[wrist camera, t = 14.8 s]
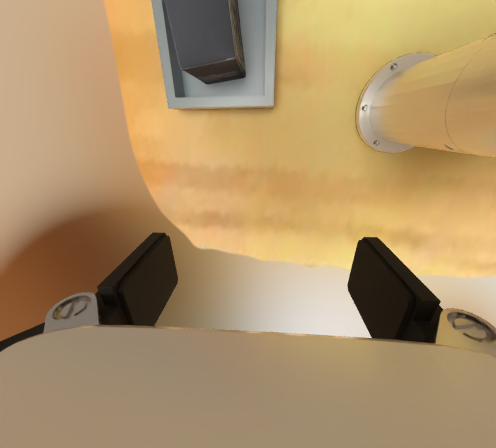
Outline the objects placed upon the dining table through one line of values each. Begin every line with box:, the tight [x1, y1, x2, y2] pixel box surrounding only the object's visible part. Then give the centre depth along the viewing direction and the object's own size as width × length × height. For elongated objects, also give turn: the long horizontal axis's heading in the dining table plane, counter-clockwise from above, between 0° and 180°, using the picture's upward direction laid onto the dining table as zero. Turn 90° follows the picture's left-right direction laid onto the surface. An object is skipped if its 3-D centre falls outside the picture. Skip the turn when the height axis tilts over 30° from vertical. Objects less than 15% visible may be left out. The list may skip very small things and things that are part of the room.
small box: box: [165, 0, 246, 84], centre depth 24 cm, size 11×6×10 cm, turn 8°
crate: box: [151, 0, 277, 110], centre depth 27 cm, size 14×17×5 cm
